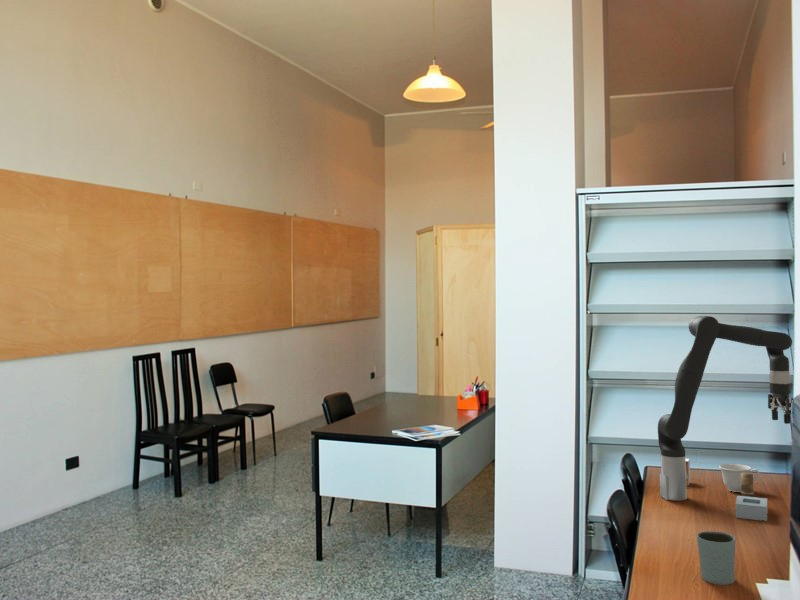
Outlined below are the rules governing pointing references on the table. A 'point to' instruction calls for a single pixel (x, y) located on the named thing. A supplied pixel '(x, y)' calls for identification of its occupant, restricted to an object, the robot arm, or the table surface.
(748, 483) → the walnut peg
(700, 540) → the grey-green cup
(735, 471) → the teacup
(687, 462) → the small box
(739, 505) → the hole block
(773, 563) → the table surface
